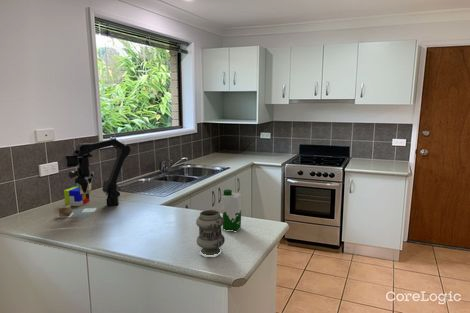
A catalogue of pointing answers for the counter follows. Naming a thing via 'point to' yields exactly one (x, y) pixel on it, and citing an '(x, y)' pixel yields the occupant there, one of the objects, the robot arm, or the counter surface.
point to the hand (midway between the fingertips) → (86, 191)
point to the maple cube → (87, 189)
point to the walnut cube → (65, 210)
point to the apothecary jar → (210, 231)
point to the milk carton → (231, 210)
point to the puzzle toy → (75, 197)
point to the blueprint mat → (80, 212)
